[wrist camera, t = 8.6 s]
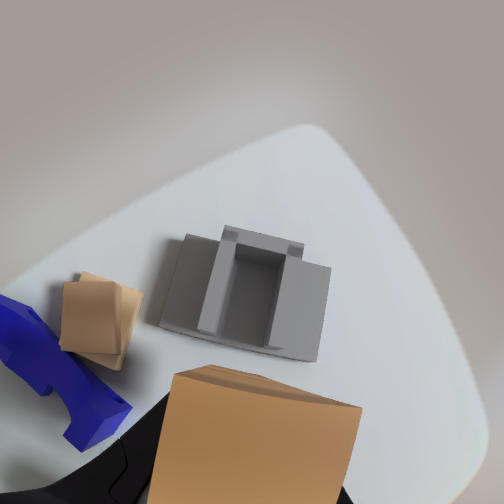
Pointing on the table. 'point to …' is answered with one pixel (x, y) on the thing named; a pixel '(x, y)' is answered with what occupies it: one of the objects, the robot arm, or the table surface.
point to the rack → (248, 294)
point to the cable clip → (58, 375)
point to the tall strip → (250, 442)
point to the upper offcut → (91, 318)
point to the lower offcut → (129, 314)
